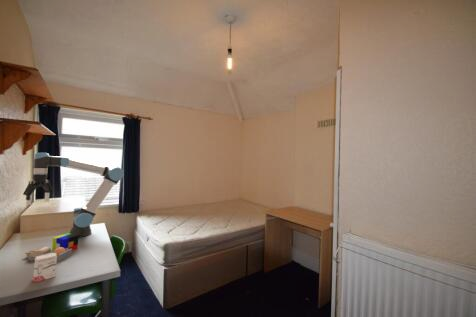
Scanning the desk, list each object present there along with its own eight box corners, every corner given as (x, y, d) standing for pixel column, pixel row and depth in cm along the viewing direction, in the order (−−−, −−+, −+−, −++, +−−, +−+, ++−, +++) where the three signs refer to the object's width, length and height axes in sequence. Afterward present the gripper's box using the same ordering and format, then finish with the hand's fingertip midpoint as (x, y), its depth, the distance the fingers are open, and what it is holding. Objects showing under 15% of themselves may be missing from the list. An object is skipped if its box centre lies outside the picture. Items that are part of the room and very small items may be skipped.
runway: (42, 255, 139) (43, 246, 139) (71, 256, 139) (72, 247, 139) (27, 262, 129) (28, 252, 129) (59, 263, 129) (59, 253, 129)
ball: (69, 251, 137) (61, 256, 137) (64, 243, 137) (56, 249, 137) (61, 255, 131) (54, 260, 131) (56, 247, 131) (48, 253, 131)
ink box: (33, 283, 106) (35, 259, 106) (32, 279, 109) (34, 256, 109) (55, 276, 112) (57, 254, 113) (54, 273, 116) (55, 252, 116)
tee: (30, 255, 136) (31, 250, 136) (36, 255, 136) (37, 250, 136) (24, 257, 132) (25, 253, 132) (30, 258, 132) (31, 253, 132)
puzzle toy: (62, 254, 139) (63, 239, 139) (51, 252, 141) (52, 237, 142) (77, 248, 149) (78, 234, 149) (67, 246, 151) (68, 233, 151)
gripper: (50, 173, 163) (48, 199, 162) (17, 174, 138) (14, 206, 137) (60, 173, 163) (58, 200, 162) (28, 174, 138) (25, 206, 137)
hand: (38, 202), depth 150 cm, fingers open, 13 cm apart
